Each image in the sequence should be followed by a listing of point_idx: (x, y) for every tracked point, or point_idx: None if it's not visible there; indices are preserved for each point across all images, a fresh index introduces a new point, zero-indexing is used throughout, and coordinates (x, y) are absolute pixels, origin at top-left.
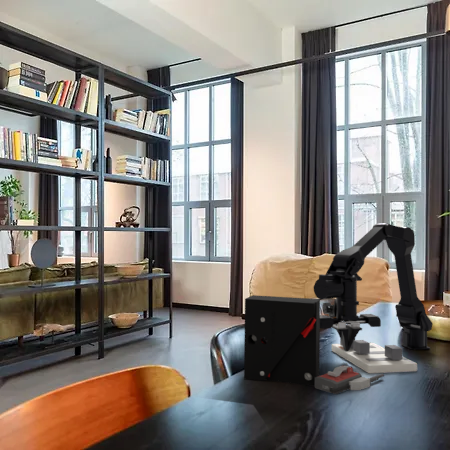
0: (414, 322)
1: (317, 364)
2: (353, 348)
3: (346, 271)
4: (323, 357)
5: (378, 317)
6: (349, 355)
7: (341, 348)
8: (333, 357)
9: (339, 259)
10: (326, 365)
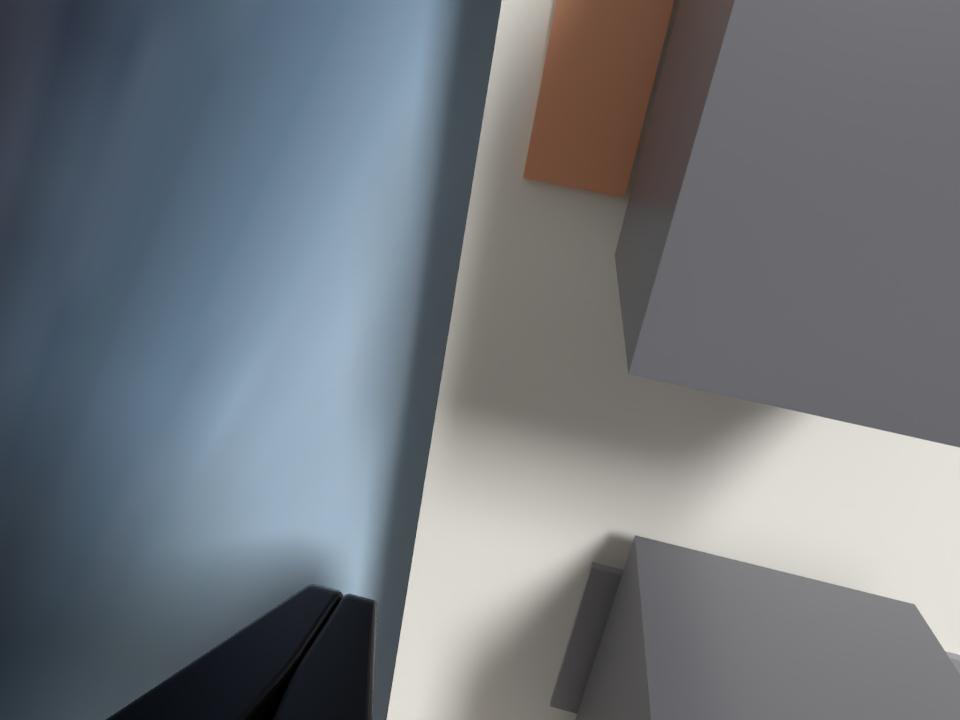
0: None
1: None
2: (634, 572)
3: None
4: (102, 147)
5: None
6: (408, 610)
7: (526, 147)
8: (295, 215)
9: None
10: (13, 550)
